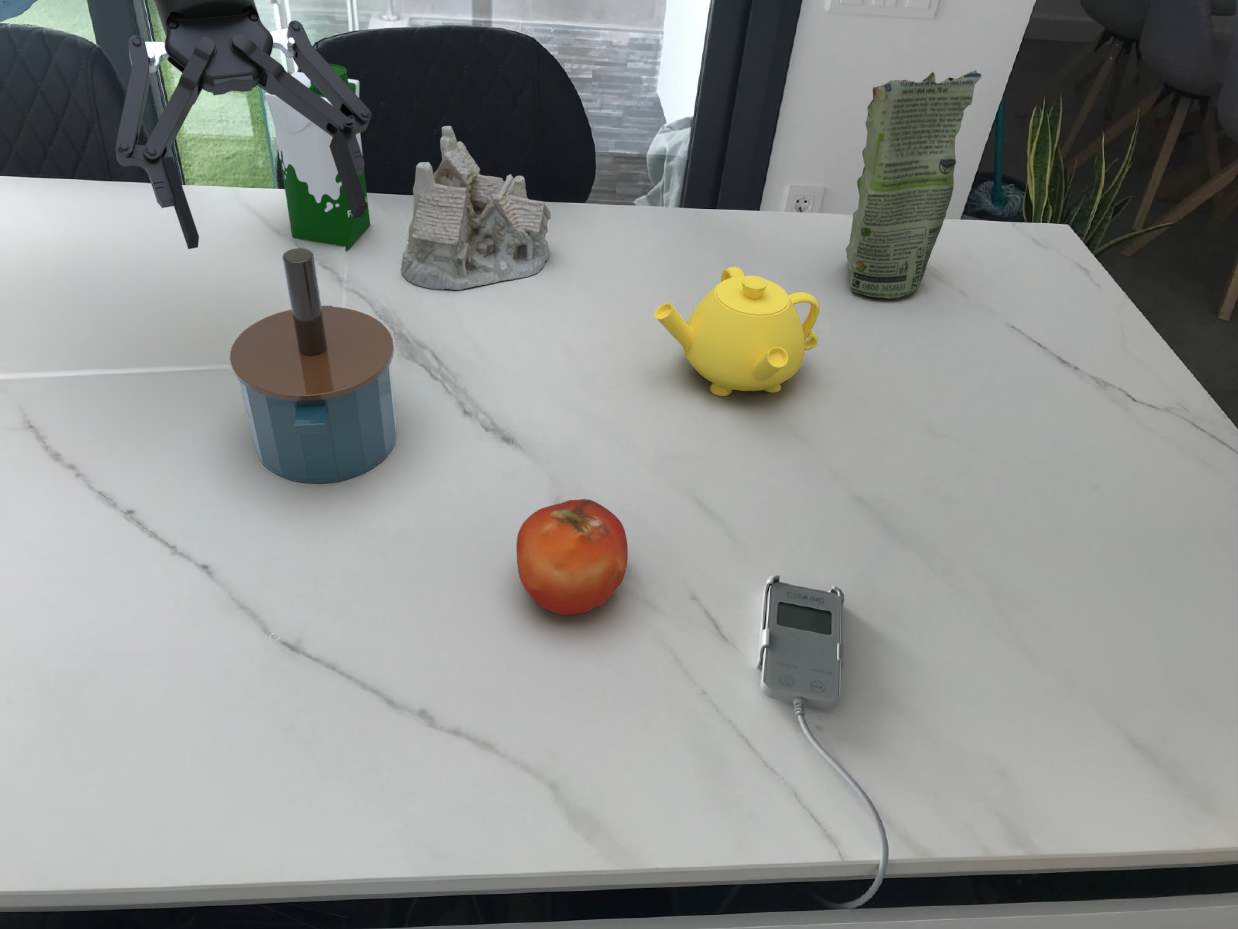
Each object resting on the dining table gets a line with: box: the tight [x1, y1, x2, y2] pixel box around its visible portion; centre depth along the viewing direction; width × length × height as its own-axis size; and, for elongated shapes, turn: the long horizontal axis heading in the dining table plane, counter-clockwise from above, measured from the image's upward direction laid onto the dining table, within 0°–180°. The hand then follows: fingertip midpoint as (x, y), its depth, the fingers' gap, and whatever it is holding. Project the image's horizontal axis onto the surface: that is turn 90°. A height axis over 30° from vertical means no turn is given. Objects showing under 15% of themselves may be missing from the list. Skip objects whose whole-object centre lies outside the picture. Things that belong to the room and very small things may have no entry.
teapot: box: [654, 266, 820, 397], centre depth 100 cm, size 14×14×11 cm
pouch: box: [845, 69, 983, 300], centre depth 113 cm, size 11×12×25 cm
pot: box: [239, 305, 397, 484], centre depth 88 cm, size 13×18×10 cm
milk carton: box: [264, 63, 371, 251], centre depth 114 cm, size 9×9×20 cm
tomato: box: [516, 498, 629, 616], centre depth 77 cm, size 9×9×8 cm
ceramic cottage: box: [400, 125, 552, 291], centre depth 113 cm, size 16×16×15 cm
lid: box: [229, 247, 395, 401], centre depth 82 cm, size 14×14×10 cm
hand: (280, 227), depth 80 cm, fingers open, 13 cm apart
